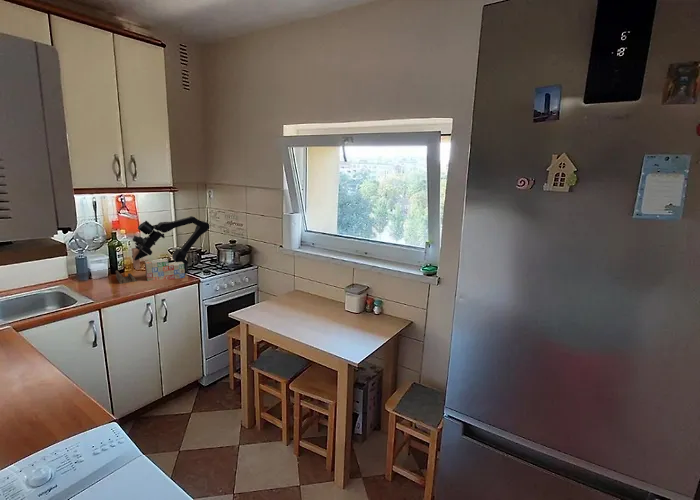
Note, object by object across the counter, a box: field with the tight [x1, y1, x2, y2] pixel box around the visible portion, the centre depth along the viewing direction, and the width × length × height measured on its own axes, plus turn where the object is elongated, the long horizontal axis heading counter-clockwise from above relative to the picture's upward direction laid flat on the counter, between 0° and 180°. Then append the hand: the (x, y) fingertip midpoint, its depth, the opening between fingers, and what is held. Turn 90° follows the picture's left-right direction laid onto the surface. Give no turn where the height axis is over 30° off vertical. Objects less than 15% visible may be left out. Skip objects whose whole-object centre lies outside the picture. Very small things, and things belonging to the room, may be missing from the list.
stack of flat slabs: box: [115, 270, 138, 285], centre depth 226 cm, size 9×12×6 cm
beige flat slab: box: [131, 247, 141, 271], centre depth 228 cm, size 2×6×12 cm, turn 41°
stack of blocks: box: [144, 258, 186, 282], centre depth 233 cm, size 21×6×12 cm, turn 125°
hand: (133, 258), depth 227 cm, fingers closed on beige flat slab, 6 cm apart
